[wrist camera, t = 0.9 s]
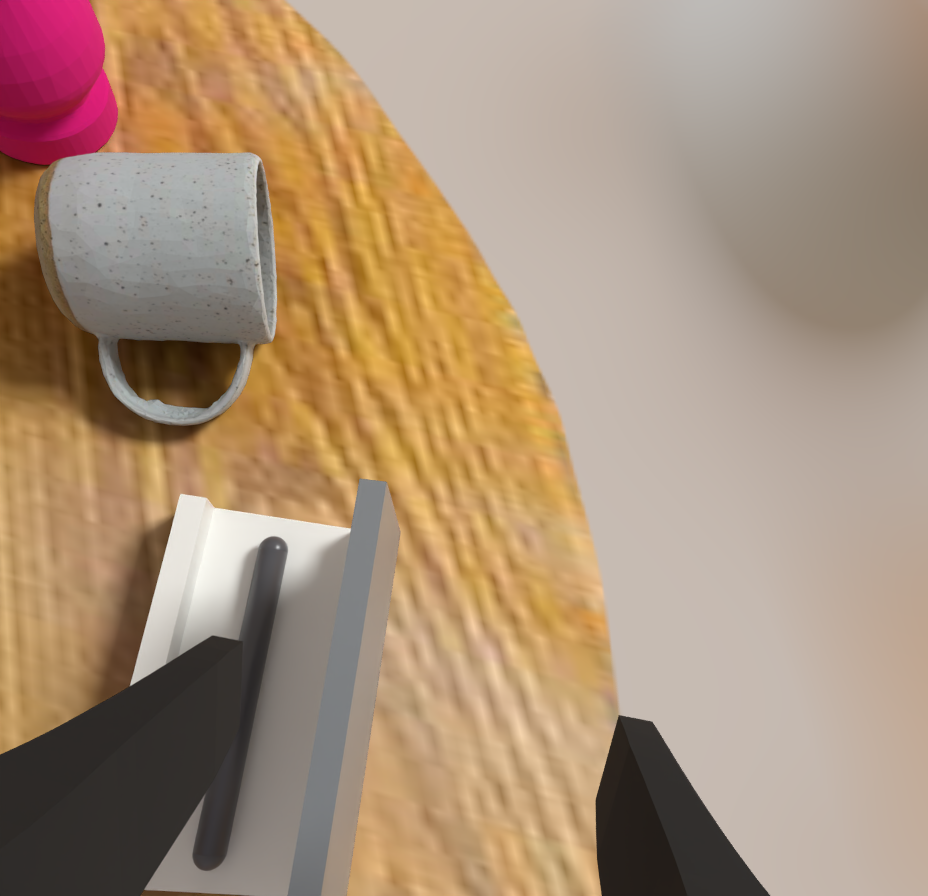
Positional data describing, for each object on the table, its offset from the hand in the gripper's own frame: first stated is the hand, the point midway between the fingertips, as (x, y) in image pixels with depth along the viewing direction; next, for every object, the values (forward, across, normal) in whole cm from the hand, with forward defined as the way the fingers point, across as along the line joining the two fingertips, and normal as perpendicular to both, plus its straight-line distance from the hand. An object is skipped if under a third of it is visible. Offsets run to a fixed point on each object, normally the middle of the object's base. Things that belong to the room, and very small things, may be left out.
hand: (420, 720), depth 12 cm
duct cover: (+7, +3, +6) cm, 10 cm away
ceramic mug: (+19, +15, -3) cm, 24 cm away
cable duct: (+11, +8, +10) cm, 17 cm away
